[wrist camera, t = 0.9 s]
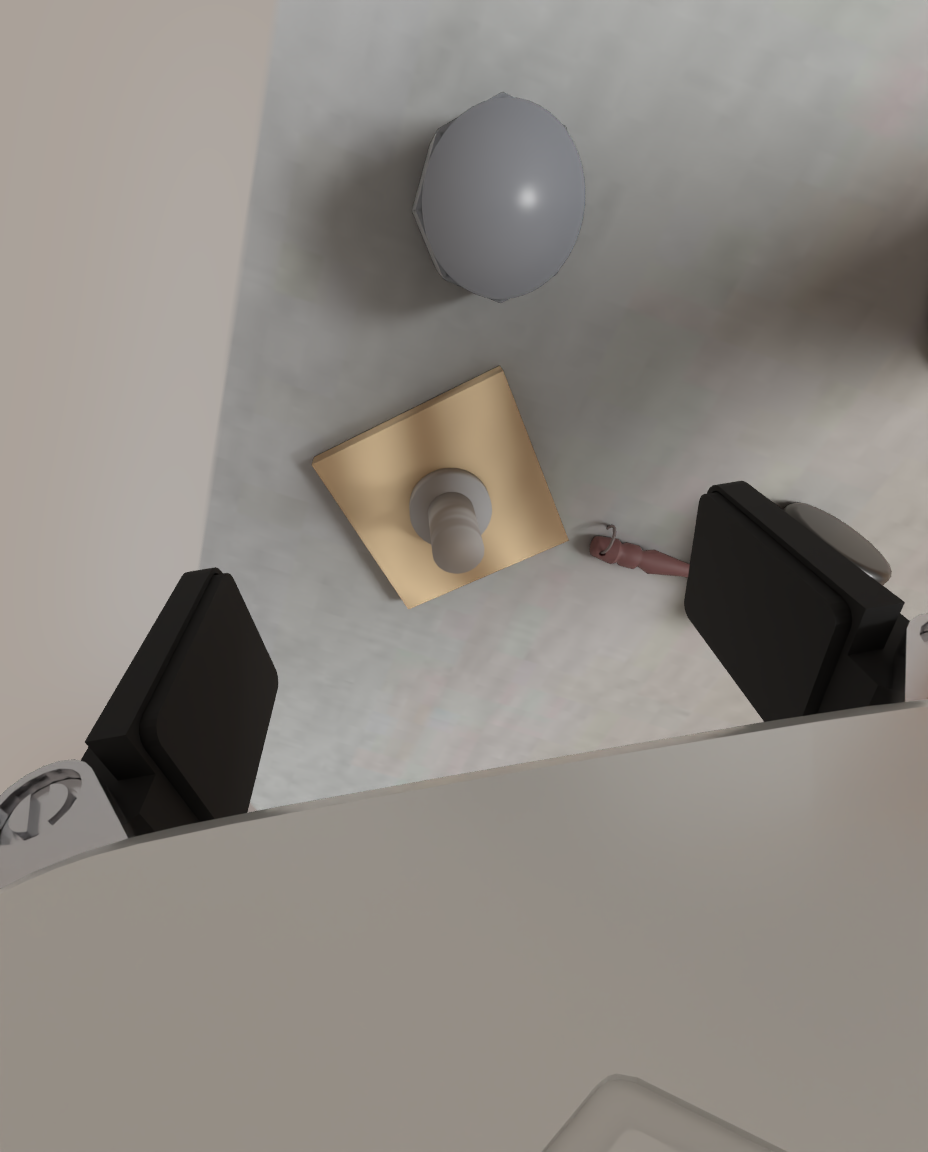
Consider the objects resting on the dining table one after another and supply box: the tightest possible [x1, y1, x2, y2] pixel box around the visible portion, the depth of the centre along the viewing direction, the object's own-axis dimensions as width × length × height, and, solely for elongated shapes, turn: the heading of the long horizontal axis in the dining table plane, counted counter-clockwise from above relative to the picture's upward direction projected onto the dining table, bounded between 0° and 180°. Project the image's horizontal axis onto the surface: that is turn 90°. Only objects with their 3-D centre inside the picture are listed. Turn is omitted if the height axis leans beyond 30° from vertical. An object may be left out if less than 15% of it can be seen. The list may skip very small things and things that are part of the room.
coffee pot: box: [589, 502, 892, 585], centre depth 36 cm, size 8×18×8 cm
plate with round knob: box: [312, 366, 569, 609], centre depth 31 cm, size 12×12×7 cm
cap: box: [412, 92, 585, 303], centre depth 23 cm, size 6×6×6 cm
